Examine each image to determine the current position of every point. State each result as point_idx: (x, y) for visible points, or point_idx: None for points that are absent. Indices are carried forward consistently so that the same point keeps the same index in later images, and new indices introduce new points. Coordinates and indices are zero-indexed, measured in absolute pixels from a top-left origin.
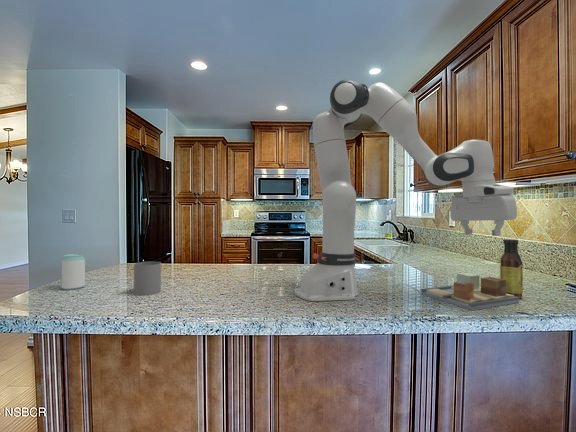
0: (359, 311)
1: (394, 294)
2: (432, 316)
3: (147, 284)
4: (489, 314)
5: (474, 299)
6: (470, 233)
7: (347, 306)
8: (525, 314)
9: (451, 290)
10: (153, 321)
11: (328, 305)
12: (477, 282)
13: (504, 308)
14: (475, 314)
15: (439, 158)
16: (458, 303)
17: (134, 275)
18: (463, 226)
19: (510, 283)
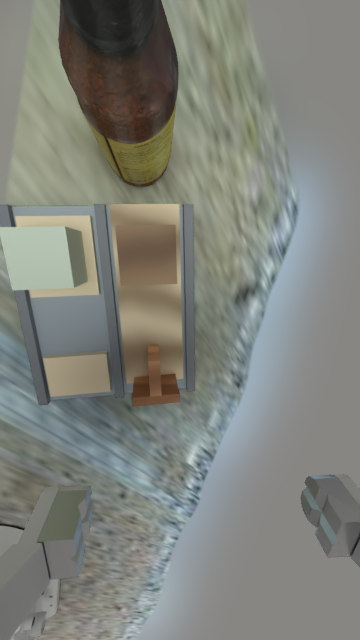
0: (130, 557)
1: (35, 457)
2: (191, 472)
3: None
4: (222, 371)
5: (172, 358)
6: (86, 505)
7: (99, 565)
8: (252, 298)
9: (51, 310)
10: None
11: (85, 588)
12: (75, 240)
13: (208, 300)
14: (212, 396)
15: None
16: None
17: None
18: (3, 634)
19: (154, 168)
